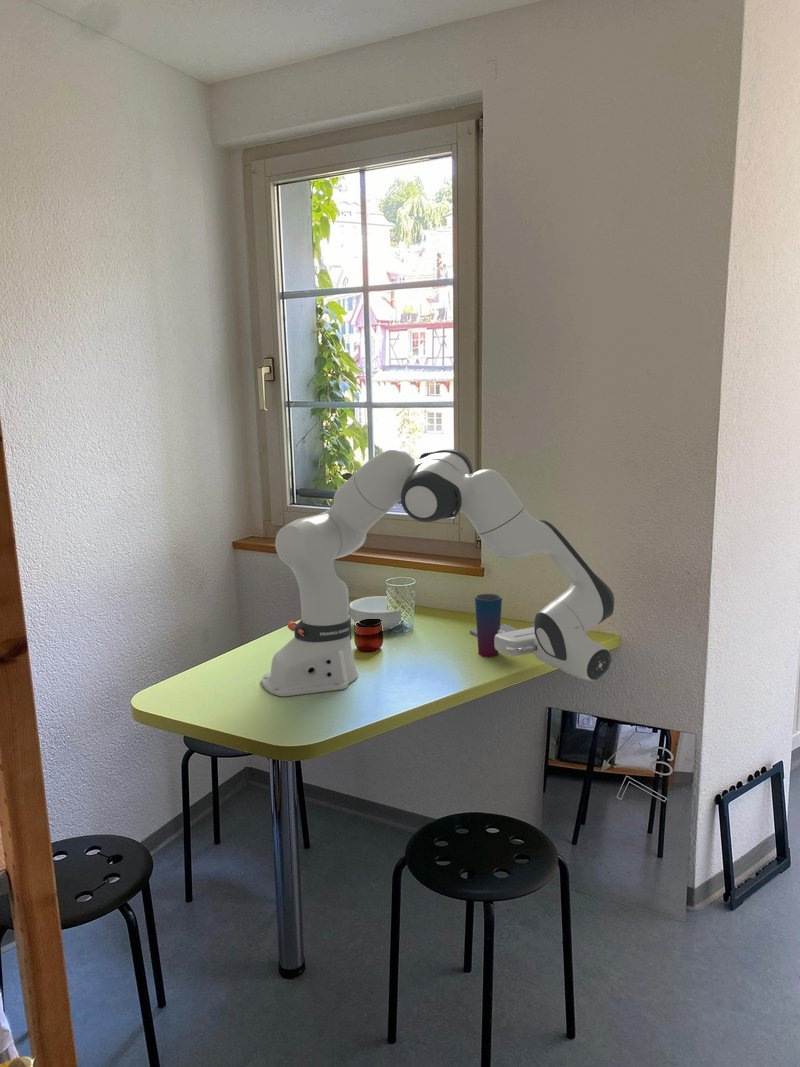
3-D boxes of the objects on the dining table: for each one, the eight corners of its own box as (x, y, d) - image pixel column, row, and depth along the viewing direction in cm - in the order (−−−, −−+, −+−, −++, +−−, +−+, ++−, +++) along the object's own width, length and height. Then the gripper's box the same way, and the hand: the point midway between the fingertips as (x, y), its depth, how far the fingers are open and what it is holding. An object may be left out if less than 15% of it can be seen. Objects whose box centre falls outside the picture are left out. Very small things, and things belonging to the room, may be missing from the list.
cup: (474, 649, 207) (474, 593, 204) (500, 649, 207) (500, 593, 204) (475, 658, 200) (475, 600, 198) (503, 658, 200) (503, 600, 197)
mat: (511, 653, 203) (511, 650, 203) (469, 633, 221) (469, 630, 221) (549, 646, 209) (549, 643, 208) (505, 626, 226) (505, 624, 226)
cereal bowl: (349, 637, 220) (348, 612, 218) (350, 620, 236) (349, 596, 235) (410, 635, 220) (410, 610, 219) (408, 618, 237) (407, 595, 235)
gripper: (514, 666, 175) (480, 649, 187) (587, 651, 184) (550, 635, 196) (514, 638, 174) (480, 623, 186) (588, 624, 183) (550, 610, 195)
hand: (516, 629), depth 191 cm, fingers open, 8 cm apart
